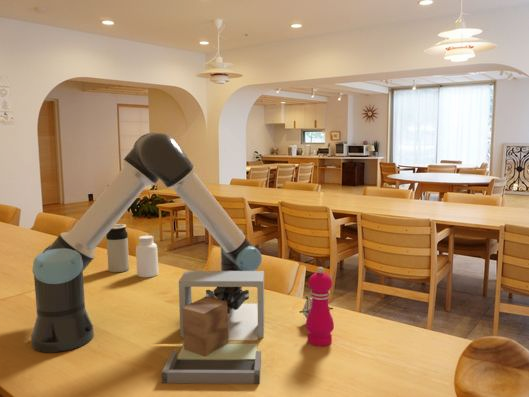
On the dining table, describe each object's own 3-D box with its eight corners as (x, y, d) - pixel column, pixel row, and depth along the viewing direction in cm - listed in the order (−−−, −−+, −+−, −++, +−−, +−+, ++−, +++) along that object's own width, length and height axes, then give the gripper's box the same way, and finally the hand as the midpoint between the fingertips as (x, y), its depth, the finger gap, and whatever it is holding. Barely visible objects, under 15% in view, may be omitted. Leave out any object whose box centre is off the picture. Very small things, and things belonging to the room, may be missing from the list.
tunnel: (196, 305, 148) (194, 256, 145) (265, 305, 147) (265, 256, 145) (179, 341, 122) (177, 283, 120) (263, 342, 121) (262, 283, 119)
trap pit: (172, 360, 112) (171, 350, 112) (261, 360, 112) (260, 351, 111) (162, 383, 102) (161, 372, 102) (259, 383, 101) (259, 373, 101)
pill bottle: (132, 276, 177) (130, 238, 175) (145, 270, 185) (144, 233, 182) (150, 279, 174) (148, 239, 172) (162, 273, 182) (161, 235, 180)
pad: (186, 338, 124) (186, 336, 124) (257, 338, 123) (257, 337, 123) (177, 360, 112) (177, 358, 112) (256, 361, 112) (255, 359, 111)
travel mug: (133, 269, 187) (131, 225, 185) (117, 274, 181) (115, 228, 178) (120, 266, 192) (117, 223, 189) (104, 270, 185) (101, 226, 182)
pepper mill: (315, 349, 117) (316, 272, 114) (300, 338, 124) (300, 265, 121) (339, 343, 120) (340, 268, 118) (323, 332, 127) (324, 261, 124)
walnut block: (207, 335, 124) (206, 296, 122) (228, 342, 120) (227, 301, 118) (184, 349, 117) (182, 307, 115) (205, 356, 113) (203, 313, 111)
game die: (321, 338, 132) (331, 319, 125) (293, 325, 133) (301, 306, 127) (329, 313, 139) (339, 294, 132) (302, 301, 140) (311, 282, 133)
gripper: (250, 297, 145) (246, 329, 122) (209, 297, 145) (196, 329, 122) (250, 274, 144) (245, 302, 120) (208, 274, 144) (195, 302, 121)
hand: (221, 315), depth 121 cm, fingers closed
